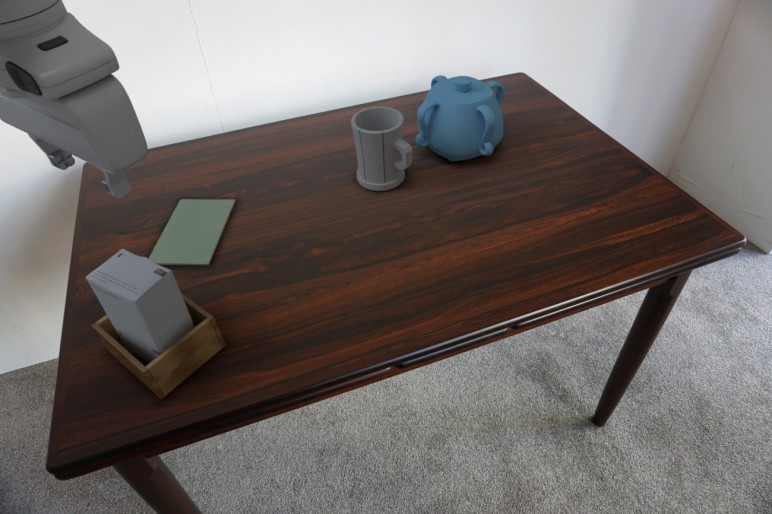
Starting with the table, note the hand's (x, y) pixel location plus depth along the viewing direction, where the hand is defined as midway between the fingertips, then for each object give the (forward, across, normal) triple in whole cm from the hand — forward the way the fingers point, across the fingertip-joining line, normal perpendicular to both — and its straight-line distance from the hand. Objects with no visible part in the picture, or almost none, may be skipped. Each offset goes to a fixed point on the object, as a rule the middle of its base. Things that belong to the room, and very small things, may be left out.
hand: (92, 179), depth 53 cm
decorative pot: (+26, +12, +61) cm, 68 cm away
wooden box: (+26, +1, -2) cm, 26 cm away
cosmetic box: (+26, +1, -2) cm, 26 cm away
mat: (+26, -14, +16) cm, 34 cm away
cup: (+26, +5, +45) cm, 52 cm away
